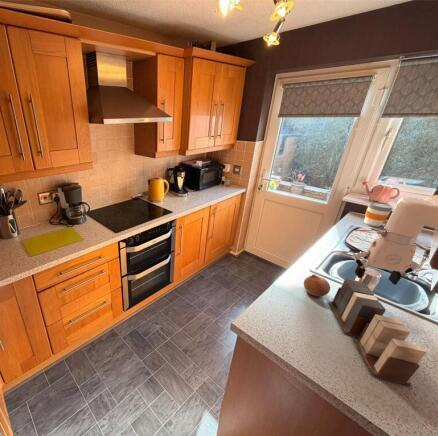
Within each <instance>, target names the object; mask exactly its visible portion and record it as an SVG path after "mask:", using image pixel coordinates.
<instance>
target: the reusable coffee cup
mask: <svg viewBox="0 0 438 436" xmlns="http://www.w3.org/2000/svg"><path fill="white" fill-rule="evenodd" d="M393 209H394V208H393V205H391V204H389V203H385V202H380V201H370V202H369V203H368V204H367V209H366V211H365V215H364V216H365V217H364V221H363V223H365V224H366V225H368V226H372V227H381V226H382V224H383V223H384V222H385V221H386V220H387V218H388V217H390V213H392V212H393Z"/></svg>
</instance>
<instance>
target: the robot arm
mask: <svg viewBox="0 0 438 436" xmlns="http://www.w3.org/2000/svg"><path fill="white" fill-rule="evenodd" d="M425 227H428V228H431V229H436V230H438V194H435V195H432V196H428V197H425V198H424V199H423V198H417V197H410V196H409V197H408V196H407V197H402V198H400V199H398V201H397V202H396V204H395V206H394V208H393V209H392V211H391V214H390V215H389V218H388V220H387V222H386V224H385V225H384V227H383V229H382V230H380V229H379V230H377V236H376V237H375V238H374V239H373V241H372V242H371V243H370V245H369V246H368V248H367V249H366V250H365V251H359V252H354V253H353V254H352V256H353V260H354V262H355V263H356V265H357V266H356V268H355V270H354V274H355V276H356V275H357V277H358V278H362V276H363V275H364V273H365V271H366V269H365V268H366V267H371V268H374V269H376V268H377V269H381V270H388V271H391V272H390V275H389V276H388V278H387V279H388V280H389V282H391V284H392V285H397V284H398V283H399V282H400V280H401V279H402V277H404V276H407V274H409V273H412V272H413V271H414V270H416V269H418V268H419V267H420V264H419V263H417V262H416V261H414V260H413V259H414V257H415V253H416V251H417V244H416V243H415V242H416V241H417V239H418V238H419V235H420V234H421V232H422V230H423V229H424V228H425ZM362 258H363V259H362Z"/></svg>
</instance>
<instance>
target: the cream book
mask: <svg viewBox="0 0 438 436" xmlns="http://www.w3.org/2000/svg"><path fill="white" fill-rule="evenodd" d="M358 298H360V299H365V300H370V301H375V302H380V300H379V299H378V297H377V296H376V295H374V296H371V295H366V294H361V293H355V292H354V293H353V295H352V297H351V299H350V301H349V303H348V305H347V307H346V309H345V311H344V313H343V315H342V319H343V321H344V322H346V321H347V319H348V317H349V315H350V313H351V311H352V309H353V307H354V305H355V303H356V301H357V299H358Z"/></svg>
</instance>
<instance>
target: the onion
mask: <svg viewBox="0 0 438 436" xmlns="http://www.w3.org/2000/svg"><path fill="white" fill-rule="evenodd" d="M303 287H304V289H305V291H306V292H307V293H308V294H309V295H311V296H313V297H315V298H316V297H317V298H323V297H324V296H327V294H329V293H330V292H331V285H330V283H329V282H328V280H327V279H325V278H324V277H321V276H319V275H317V274H314V273H313V274H311V275H309V276H307V277H306V278H305V279H304V282H303Z"/></svg>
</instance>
